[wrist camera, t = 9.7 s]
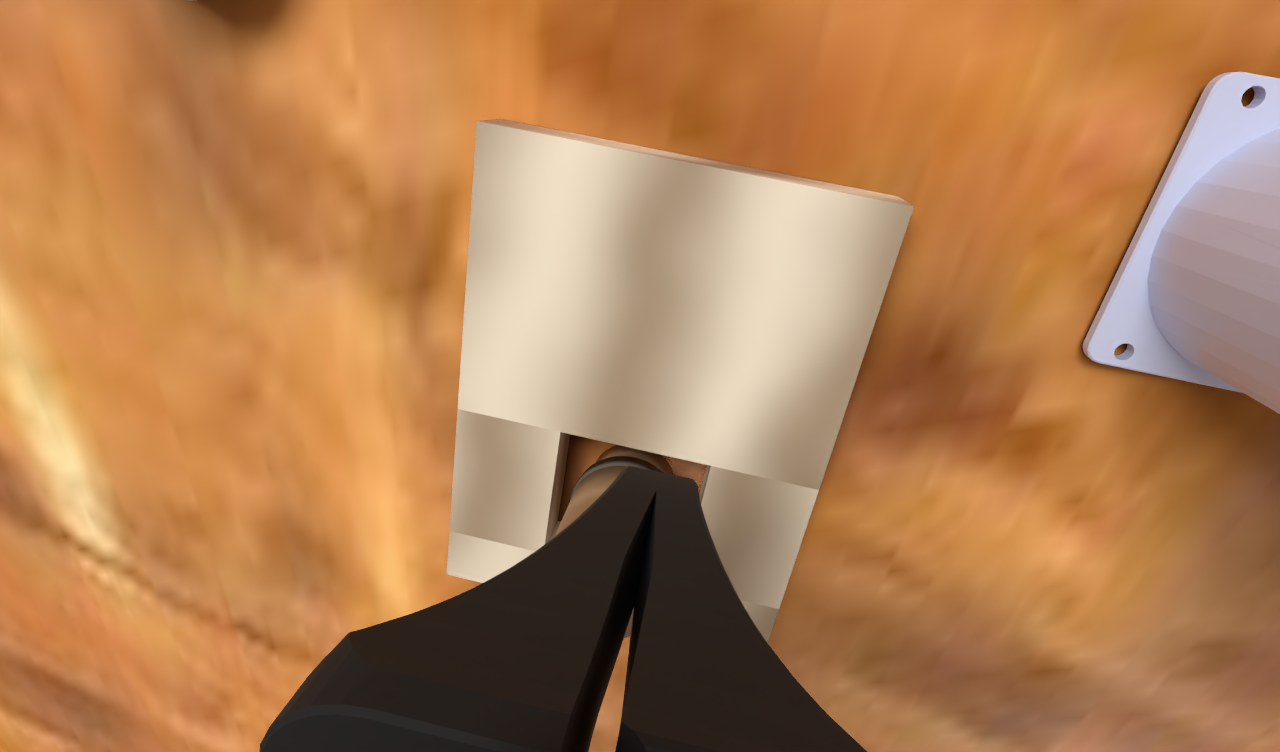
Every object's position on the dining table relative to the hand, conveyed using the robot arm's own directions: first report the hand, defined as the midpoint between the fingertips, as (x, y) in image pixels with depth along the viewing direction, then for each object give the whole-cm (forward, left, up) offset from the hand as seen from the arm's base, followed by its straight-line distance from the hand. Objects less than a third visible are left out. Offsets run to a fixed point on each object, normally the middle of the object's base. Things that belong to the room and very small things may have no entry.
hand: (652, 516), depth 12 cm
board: (+1, +2, -10) cm, 11 cm away
